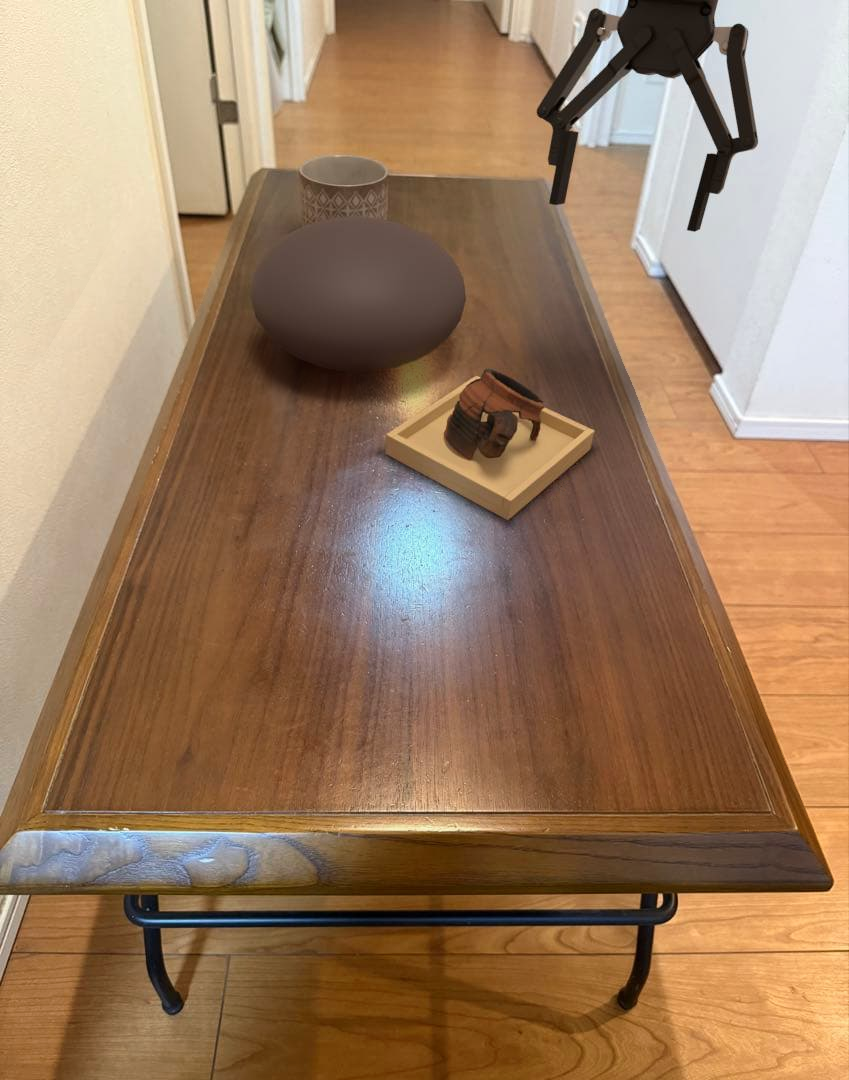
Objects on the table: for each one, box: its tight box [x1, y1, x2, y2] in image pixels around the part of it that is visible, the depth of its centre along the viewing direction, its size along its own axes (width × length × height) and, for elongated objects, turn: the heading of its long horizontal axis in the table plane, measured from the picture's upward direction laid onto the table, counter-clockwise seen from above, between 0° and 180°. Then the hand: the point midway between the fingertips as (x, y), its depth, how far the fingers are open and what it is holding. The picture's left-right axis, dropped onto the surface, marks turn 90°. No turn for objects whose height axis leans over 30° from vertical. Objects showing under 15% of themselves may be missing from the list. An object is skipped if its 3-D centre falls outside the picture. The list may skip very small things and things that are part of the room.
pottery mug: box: [444, 368, 546, 459], centre depth 85 cm, size 12×10×8 cm
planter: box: [298, 153, 390, 227], centre depth 122 cm, size 13×13×10 cm
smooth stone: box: [249, 216, 467, 373], centre depth 97 cm, size 25×25×15 cm
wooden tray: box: [385, 375, 595, 521], centre depth 87 cm, size 16×16×2 cm
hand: (623, 216), depth 80 cm, fingers open, 13 cm apart
